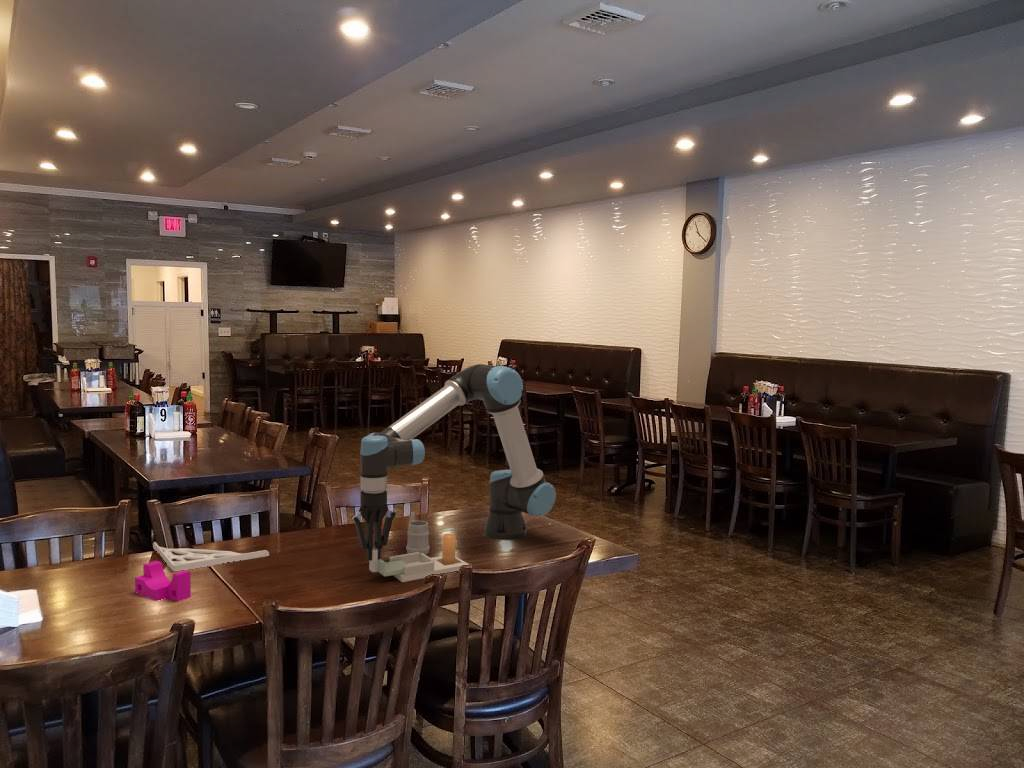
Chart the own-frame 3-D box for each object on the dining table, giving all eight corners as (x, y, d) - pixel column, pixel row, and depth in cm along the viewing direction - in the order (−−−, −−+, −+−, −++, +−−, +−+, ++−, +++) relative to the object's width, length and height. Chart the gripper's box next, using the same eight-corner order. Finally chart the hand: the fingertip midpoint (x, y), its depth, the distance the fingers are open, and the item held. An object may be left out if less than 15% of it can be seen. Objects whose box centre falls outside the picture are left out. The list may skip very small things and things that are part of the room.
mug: (410, 557, 238) (411, 520, 237) (398, 547, 249) (399, 511, 248) (433, 554, 242) (433, 518, 241) (420, 544, 252) (421, 509, 251)
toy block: (135, 593, 203) (134, 566, 203) (156, 587, 209) (155, 560, 208) (169, 606, 196) (169, 578, 195) (190, 598, 201) (190, 571, 200)
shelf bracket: (153, 549, 243) (152, 541, 243) (241, 536, 260) (241, 528, 260) (173, 574, 221) (173, 565, 221) (269, 558, 238) (269, 549, 237)
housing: (451, 560, 237) (452, 546, 236) (468, 570, 228) (469, 556, 227) (386, 571, 225) (387, 557, 224) (402, 583, 216) (402, 567, 215)
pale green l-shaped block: (401, 563, 226) (401, 550, 225) (412, 571, 219) (412, 557, 219) (370, 569, 220) (370, 555, 220) (381, 577, 214) (381, 562, 213)
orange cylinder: (451, 564, 233) (452, 533, 232) (457, 568, 229) (458, 536, 229) (439, 566, 231) (440, 534, 230) (445, 570, 227) (446, 538, 226)
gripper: (389, 485, 221) (389, 563, 223) (347, 489, 214) (347, 570, 216) (400, 490, 215) (399, 570, 217) (357, 495, 208) (356, 578, 210)
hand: (373, 570), depth 216 cm, fingers closed
